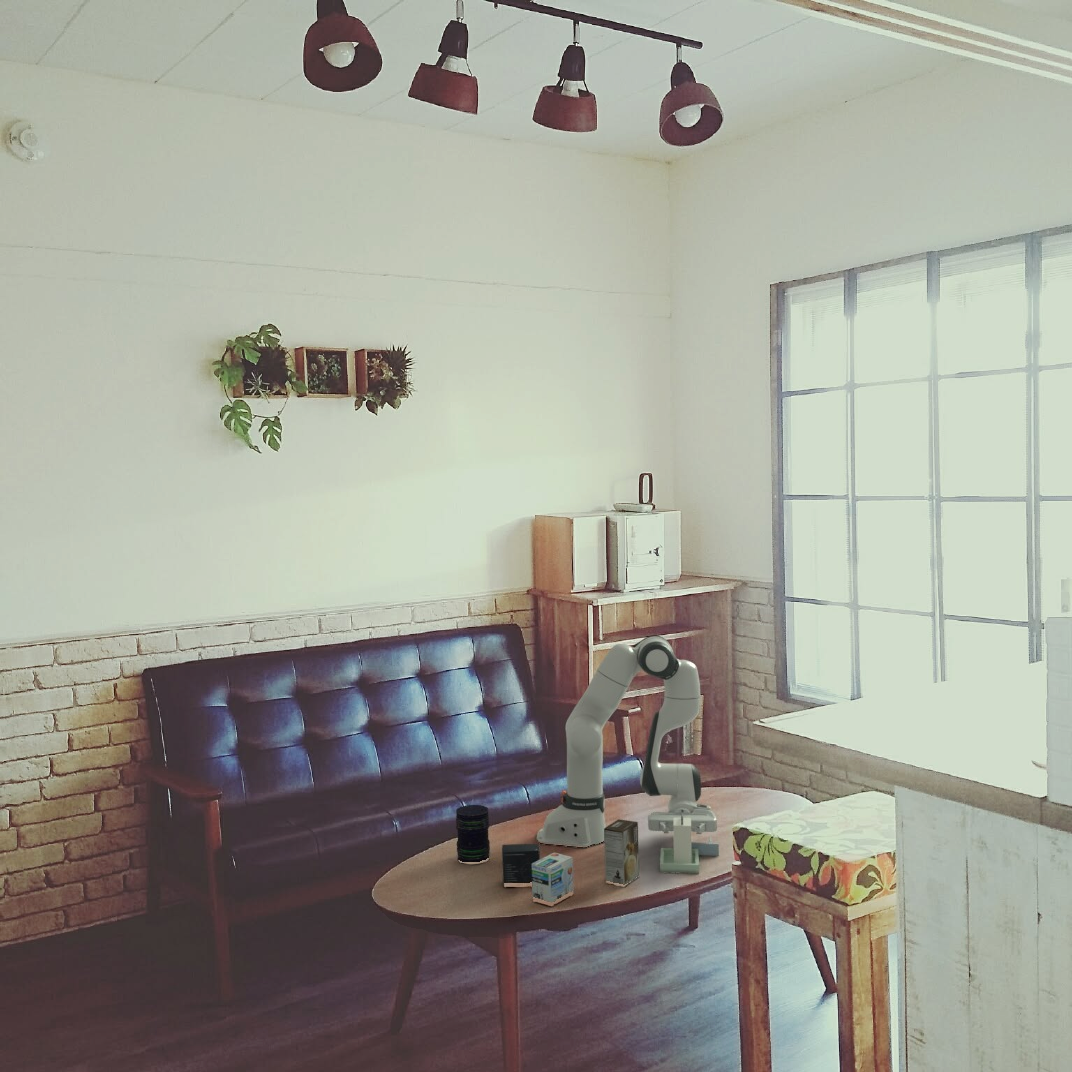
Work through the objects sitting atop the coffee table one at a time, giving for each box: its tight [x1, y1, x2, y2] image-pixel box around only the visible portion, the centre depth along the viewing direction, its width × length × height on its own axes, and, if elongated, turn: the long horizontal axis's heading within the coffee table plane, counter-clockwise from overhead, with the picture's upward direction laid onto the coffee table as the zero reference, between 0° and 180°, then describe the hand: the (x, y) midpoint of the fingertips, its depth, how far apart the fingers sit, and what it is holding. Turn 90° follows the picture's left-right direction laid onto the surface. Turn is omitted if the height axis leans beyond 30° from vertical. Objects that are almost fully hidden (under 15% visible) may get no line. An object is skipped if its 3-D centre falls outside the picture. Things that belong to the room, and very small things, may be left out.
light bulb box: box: [531, 852, 574, 903], centre depth 304 cm, size 11×7×11 cm, turn 143°
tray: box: [659, 847, 700, 874], centre depth 327 cm, size 11×13×2 cm
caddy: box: [673, 813, 692, 864], centre depth 326 cm, size 5×7×14 cm
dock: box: [691, 835, 720, 857], centre depth 338 cm, size 11×8×4 cm
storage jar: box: [455, 804, 491, 862], centre depth 335 cm, size 10×10×15 cm
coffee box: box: [603, 818, 640, 885], centre depth 315 cm, size 9×6×16 cm
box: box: [501, 842, 541, 884], centre depth 315 cm, size 11×7×10 cm, turn 91°
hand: (682, 831), depth 326 cm, fingers open, 8 cm apart
